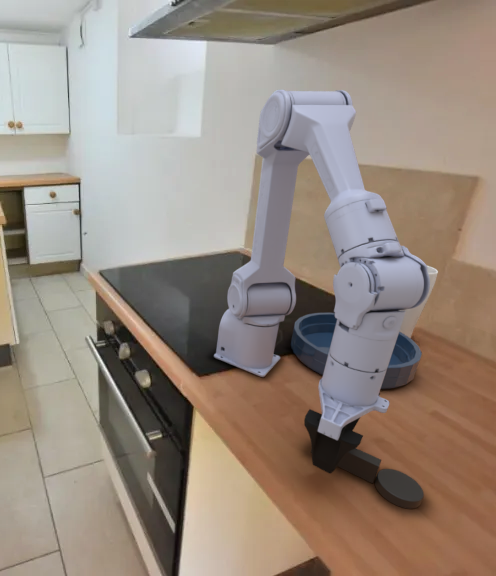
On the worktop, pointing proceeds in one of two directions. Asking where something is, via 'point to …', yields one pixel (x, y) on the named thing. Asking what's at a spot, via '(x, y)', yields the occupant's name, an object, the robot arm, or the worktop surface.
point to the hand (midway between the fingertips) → (331, 449)
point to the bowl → (317, 340)
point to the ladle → (383, 479)
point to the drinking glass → (415, 313)
